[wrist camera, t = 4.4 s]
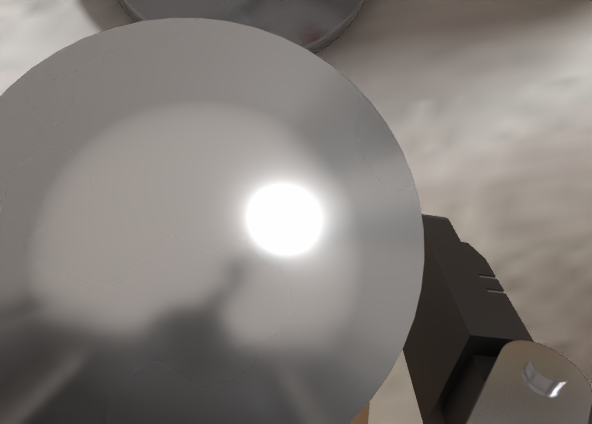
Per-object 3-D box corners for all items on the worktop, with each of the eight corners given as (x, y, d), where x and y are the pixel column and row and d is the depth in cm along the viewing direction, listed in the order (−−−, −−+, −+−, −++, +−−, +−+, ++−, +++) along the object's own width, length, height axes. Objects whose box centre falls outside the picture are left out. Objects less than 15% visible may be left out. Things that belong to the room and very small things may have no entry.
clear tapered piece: (312, 215, 16) (448, 44, 6) (294, 390, 14) (432, 535, 5) (141, 192, 15) (-13, -37, 5) (108, 374, 14) (-171, 498, 4)
